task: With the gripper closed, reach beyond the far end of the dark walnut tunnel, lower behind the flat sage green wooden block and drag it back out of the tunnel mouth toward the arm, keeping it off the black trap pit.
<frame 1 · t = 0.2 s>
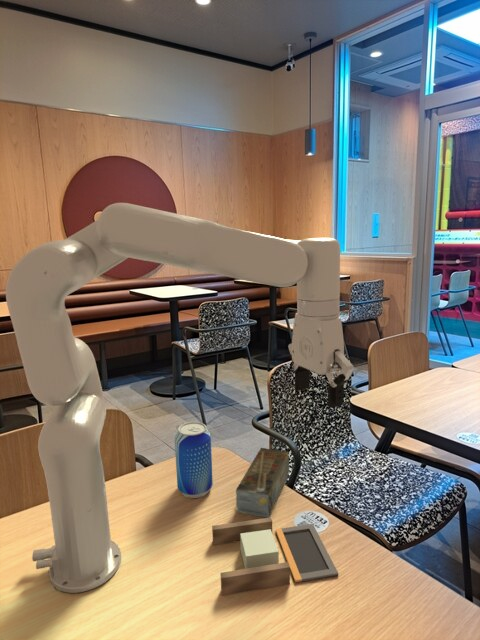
hand: (318, 396, 82), 30 cm above the table, tool pointing down, fingers open, 9 cm apart
beverage carton: (264, 492, 103), on the table
block: (259, 560, 82), on the table
beer can: (195, 490, 105), on the table
trap pit: (304, 552, 84), on the table
tunnel: (248, 561, 82), on the table
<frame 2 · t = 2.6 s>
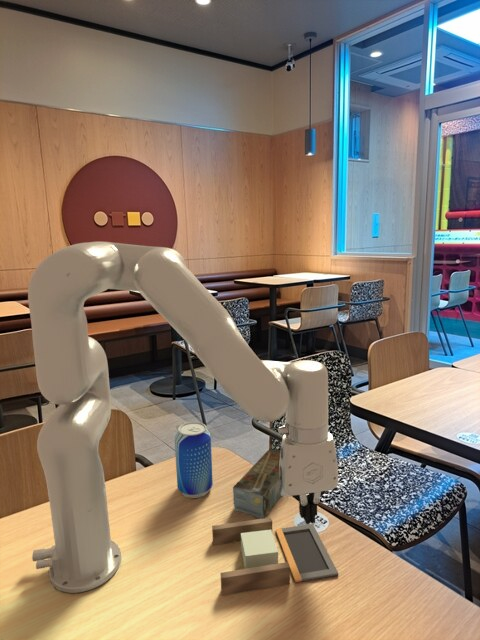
hand: (308, 518, 82), 7 cm above the table, tool pointing down, fingers closed
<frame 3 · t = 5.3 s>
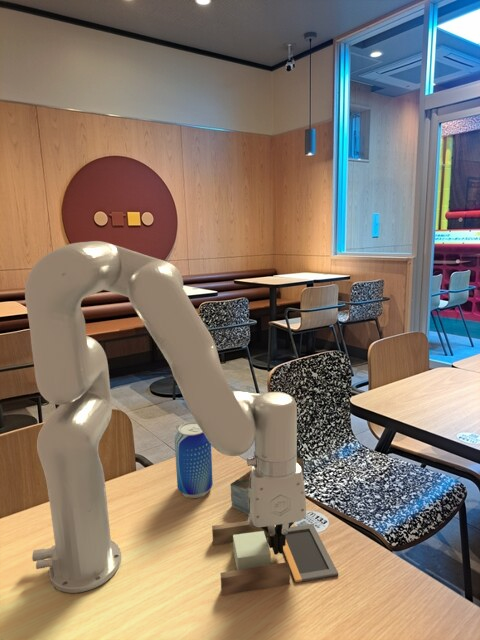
hand: (276, 548, 82), 2 cm above the table, tool pointing down, fingers closed
block: (251, 562, 82), on the table, touching gripper
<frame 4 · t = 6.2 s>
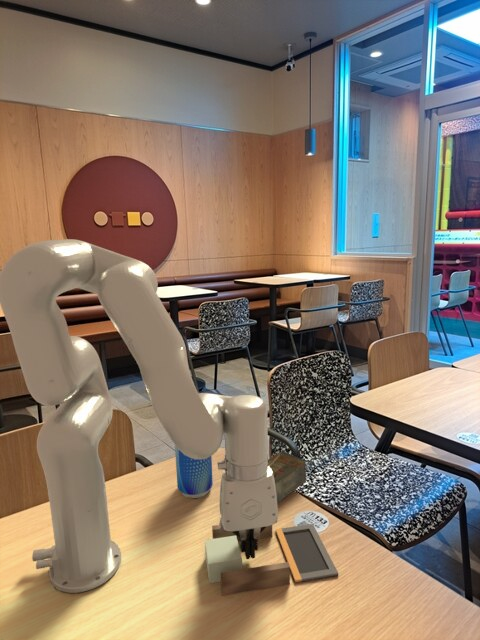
hand: (249, 553, 81), 2 cm above the table, tool pointing down, fingers closed
block: (223, 567, 80), on the table, touching gripper
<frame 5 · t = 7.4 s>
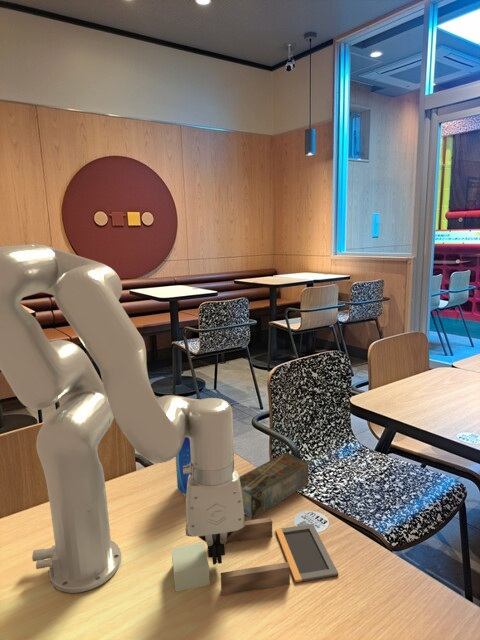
hand: (216, 558, 80), 2 cm above the table, tool pointing down, fingers closed
block: (190, 575, 79), on the table
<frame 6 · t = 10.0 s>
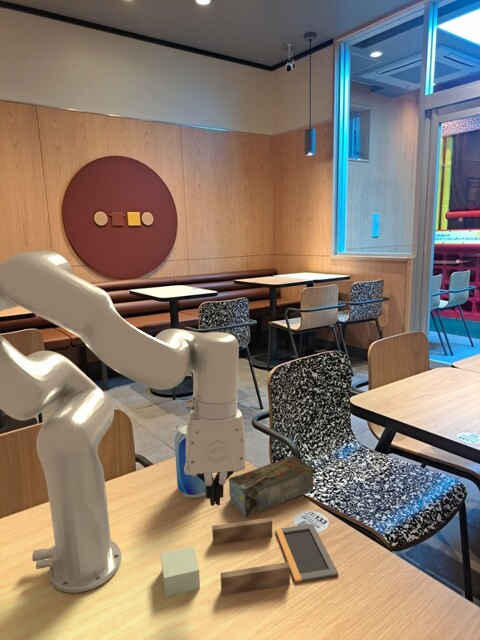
hand: (214, 500, 78), 14 cm above the table, tool pointing down, fingers closed
block: (180, 580, 78), on the table
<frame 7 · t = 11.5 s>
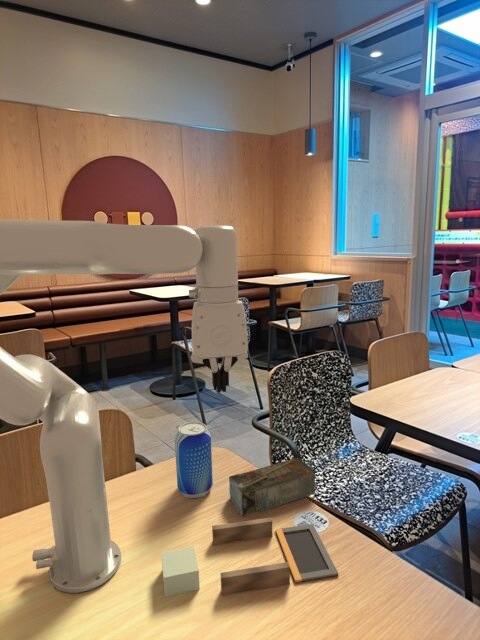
hand: (220, 389, 83), 31 cm above the table, tool pointing down, fingers closed
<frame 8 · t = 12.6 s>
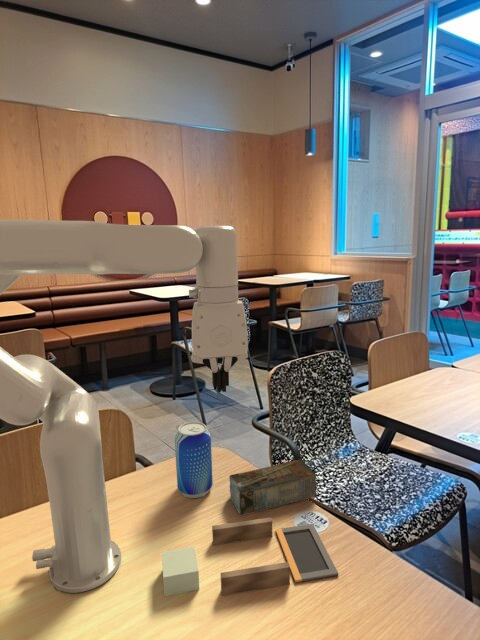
hand: (220, 389, 83), 31 cm above the table, tool pointing down, fingers closed
at the end: block inside the target area (2.6 cm from its centre), on the table; block touching table; block tilted 0° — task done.
